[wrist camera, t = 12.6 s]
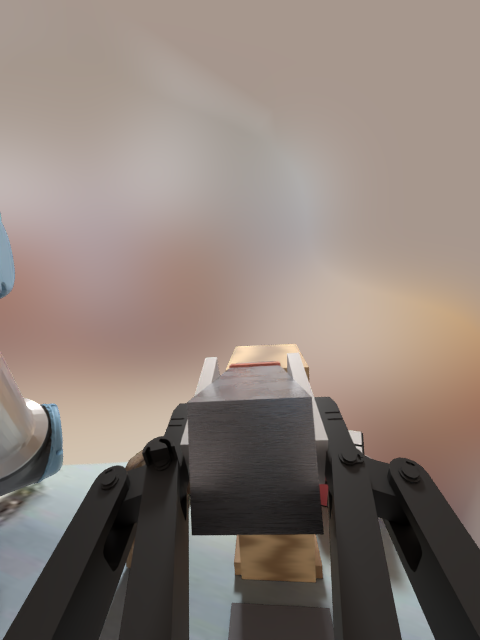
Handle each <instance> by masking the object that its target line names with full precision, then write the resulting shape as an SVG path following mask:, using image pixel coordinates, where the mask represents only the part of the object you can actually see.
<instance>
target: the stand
mask: <svg viewBox="0 0 480 640" xmlns="http://www.w3.org/2000/svg"><path fill="white" fill-rule="evenodd" d="M287 353H299V354H300V357H301V360H302V363H303V366H304V369H305V372H306V375H307V378H308V381H309V367H308V365H307V363H306V361H305V360H304V358H303V356H302V354H301V353H300V351H299V349H298V347H297V346H296V344H283V345H262V346H239V347H236V348H235V350H234V352H233V355H232V357H231V359H230V362H229V364H228V366H227V368H226V371H227V370H228V369H229V365H231V364H236V363H246V362H264V361H279V362H280V364H281V367H282V368H283V369H284V370H285V371H286V372H287ZM234 567H235V575H242V579H250V580H272V581H293V582H315V583H316V578H321V579H323V574H322V562H321V558H320V553H319V548H318V543H317V539H316V534H298V535H237V539H236V549H235V559H234Z"/></svg>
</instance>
